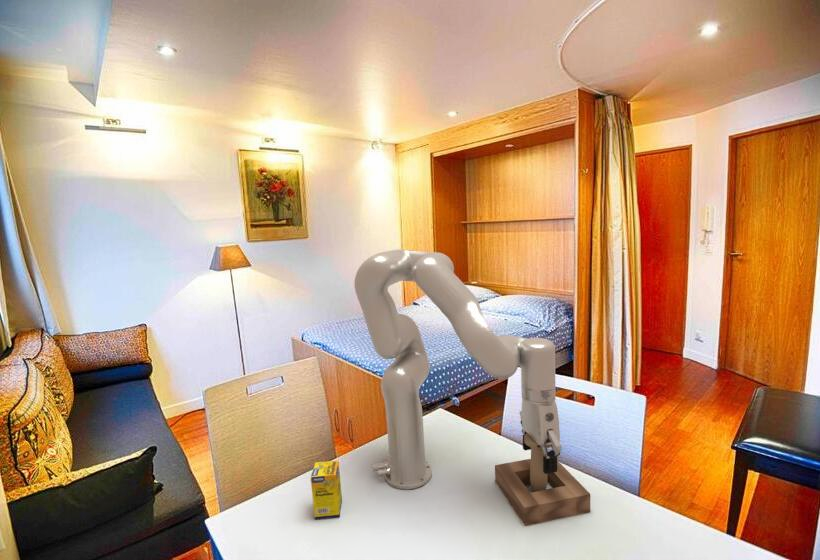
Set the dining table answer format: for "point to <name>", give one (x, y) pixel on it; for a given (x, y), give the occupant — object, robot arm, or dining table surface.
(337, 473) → the supplement box
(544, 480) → the handle
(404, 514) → the dining table surface
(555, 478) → the socket block
